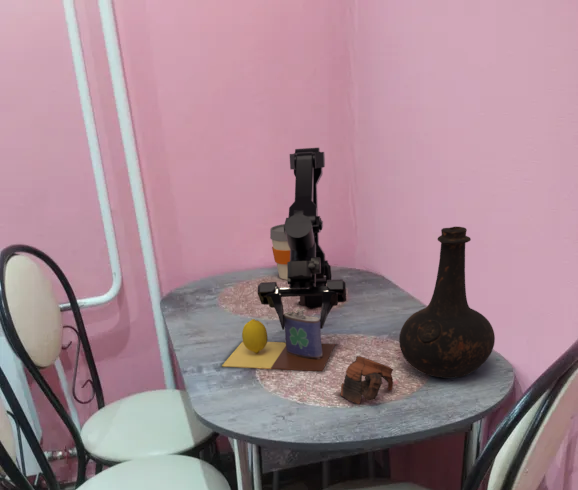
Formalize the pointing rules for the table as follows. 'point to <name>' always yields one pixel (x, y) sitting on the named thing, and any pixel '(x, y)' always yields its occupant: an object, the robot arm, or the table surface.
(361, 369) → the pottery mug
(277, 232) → the reusable coffee cup
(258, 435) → the table surface
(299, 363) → the board
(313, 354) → the flask
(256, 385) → the table surface
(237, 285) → the table surface
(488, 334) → the glass bottle
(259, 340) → the lemon
